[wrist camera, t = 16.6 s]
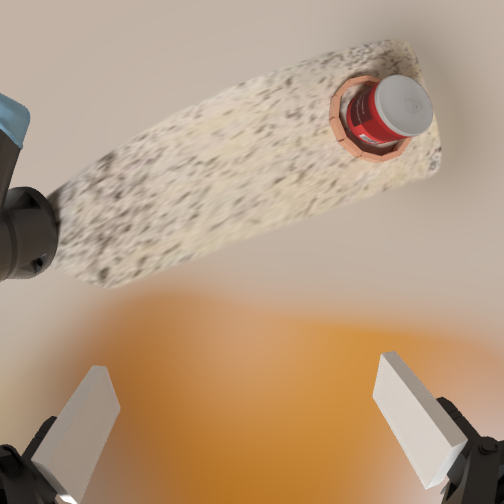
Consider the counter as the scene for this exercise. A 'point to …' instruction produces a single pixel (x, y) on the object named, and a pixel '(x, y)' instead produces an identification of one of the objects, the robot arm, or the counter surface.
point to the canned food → (390, 111)
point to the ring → (340, 131)
